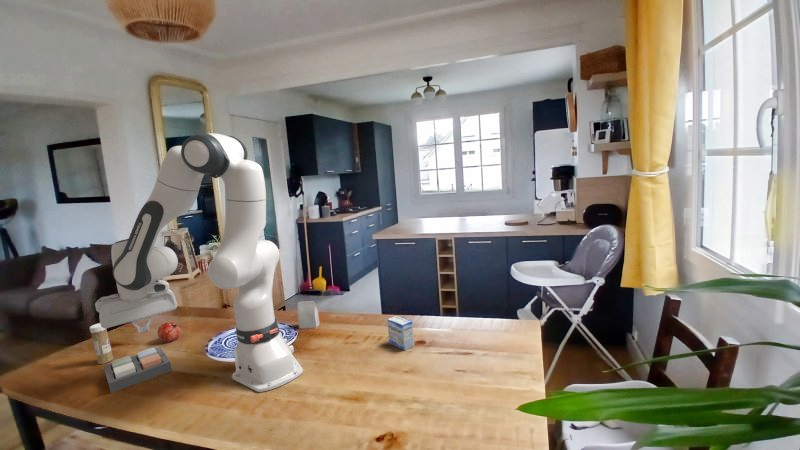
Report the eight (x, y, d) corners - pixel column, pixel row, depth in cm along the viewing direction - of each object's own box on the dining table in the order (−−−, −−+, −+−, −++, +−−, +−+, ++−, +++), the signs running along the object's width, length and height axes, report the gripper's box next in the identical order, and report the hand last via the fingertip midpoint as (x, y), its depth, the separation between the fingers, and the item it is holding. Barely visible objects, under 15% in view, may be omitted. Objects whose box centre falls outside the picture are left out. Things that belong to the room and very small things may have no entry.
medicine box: (388, 343, 129) (386, 319, 127) (398, 339, 132) (396, 314, 130) (405, 351, 123) (402, 325, 122) (415, 345, 126) (412, 320, 124)
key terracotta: (162, 365, 124) (161, 358, 124) (144, 371, 121) (142, 364, 120) (159, 360, 128) (158, 353, 127) (141, 366, 125) (140, 359, 124)
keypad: (172, 370, 124) (170, 361, 124) (110, 393, 114) (108, 383, 113) (161, 355, 136) (160, 347, 136) (105, 374, 126) (103, 365, 125)
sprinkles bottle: (113, 361, 135) (105, 324, 133) (97, 366, 132) (88, 328, 130) (114, 356, 138) (106, 321, 136) (98, 361, 136) (89, 324, 134)
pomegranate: (157, 350, 145) (170, 336, 142) (148, 334, 147) (160, 320, 143) (175, 343, 152) (188, 330, 149) (167, 328, 154) (179, 314, 150)
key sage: (133, 366, 125) (131, 359, 124) (114, 373, 122) (112, 366, 121) (131, 361, 128) (129, 355, 128) (112, 368, 125) (110, 361, 125)
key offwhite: (136, 374, 120) (135, 367, 119) (116, 381, 116) (115, 374, 116) (134, 369, 123) (132, 362, 123) (115, 375, 120) (113, 368, 120)
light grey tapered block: (316, 328, 147) (313, 303, 146) (299, 328, 148) (296, 303, 146) (319, 324, 151) (316, 299, 149) (303, 324, 152) (299, 300, 150)
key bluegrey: (158, 358, 129) (156, 351, 129) (140, 364, 126) (139, 357, 126) (155, 353, 133) (153, 347, 133) (138, 359, 130) (136, 352, 129)
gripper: (94, 301, 111) (104, 346, 113) (174, 282, 124) (181, 323, 127) (92, 296, 116) (102, 340, 118) (170, 279, 129) (177, 318, 131)
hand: (143, 331), depth 122 cm, fingers closed
